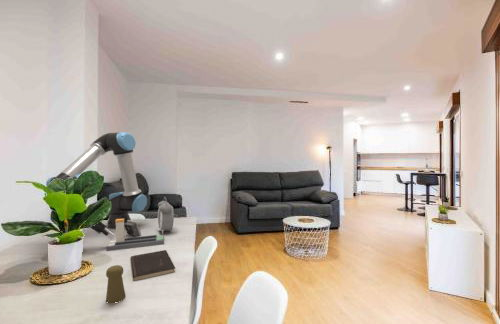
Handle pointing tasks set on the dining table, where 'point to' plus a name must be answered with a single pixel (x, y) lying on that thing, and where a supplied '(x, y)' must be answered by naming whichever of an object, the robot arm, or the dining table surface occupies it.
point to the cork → (115, 284)
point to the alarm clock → (165, 216)
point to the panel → (136, 242)
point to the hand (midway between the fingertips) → (113, 237)
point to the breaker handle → (120, 230)
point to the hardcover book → (151, 265)
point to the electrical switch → (132, 228)
